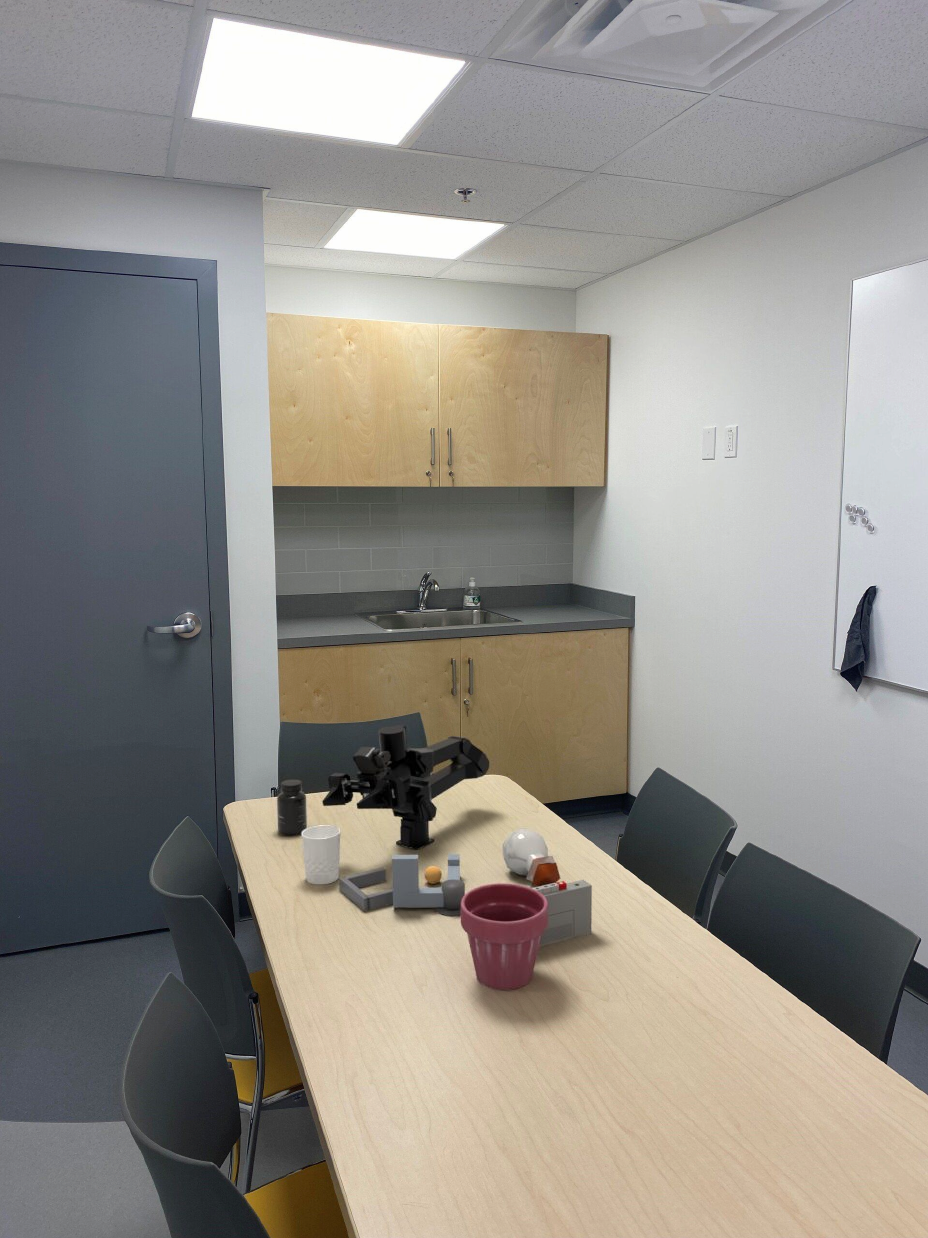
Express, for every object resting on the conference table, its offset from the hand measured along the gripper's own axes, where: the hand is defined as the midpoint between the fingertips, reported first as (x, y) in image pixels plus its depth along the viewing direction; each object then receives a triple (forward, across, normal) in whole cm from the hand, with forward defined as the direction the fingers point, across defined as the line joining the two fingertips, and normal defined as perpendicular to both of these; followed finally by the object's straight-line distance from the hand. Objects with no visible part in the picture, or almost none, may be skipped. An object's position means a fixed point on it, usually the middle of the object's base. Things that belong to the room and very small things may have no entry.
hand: (340, 805), depth 179 cm
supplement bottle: (-15, -31, +15) cm, 37 cm away
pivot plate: (-1, +24, +19) cm, 31 cm away
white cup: (+2, -7, +16) cm, 17 cm away
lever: (-4, +17, +18) cm, 25 cm away
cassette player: (+1, +45, +22) cm, 50 cm away
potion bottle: (-20, +30, +22) cm, 42 cm away
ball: (-8, +14, +17) cm, 24 cm away
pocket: (+2, +8, +17) cm, 19 cm away
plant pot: (+16, +45, +20) cm, 51 cm away
